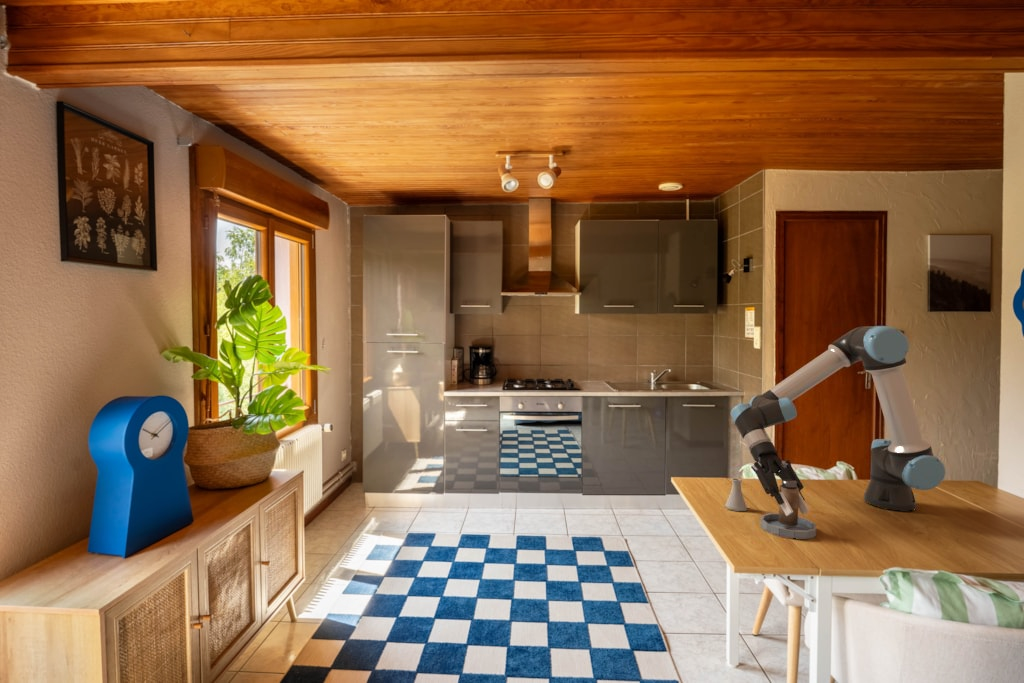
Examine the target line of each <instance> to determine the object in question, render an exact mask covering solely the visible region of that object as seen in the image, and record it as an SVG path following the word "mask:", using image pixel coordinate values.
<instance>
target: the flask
mask: <svg viewBox="0 0 1024 683" xmlns="http://www.w3.org/2000/svg"><path fill="white" fill-rule="evenodd" d="M742 481H743V480H742V479H741V478H736V477H735V478H734V477H733V478H731V482H732V485H731V490H730V492H729V496H728V498H727V500H726V503H725V505H724V508H726V509H727V510H728V511H729V510H730V511H734V512H747V510H748V506H747V504H746V501H745V497H744V495H743V491H742V484H741V483H742Z"/></svg>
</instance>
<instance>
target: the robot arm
mask: <svg viewBox="0 0 1024 683" xmlns="http://www.w3.org/2000/svg"><path fill="white" fill-rule="evenodd" d="M909 348H910V343H909V341H908V338H907V336H906V335H905V334H904V333H903V332H902V331H901V330H899V329H897V328H894V327H891V326H887V325H873V326H869V325H863V326H859V327H855V328H854V329H852V330H850V331H848V332H846V333H845V334H844V335H841V337H839V338H837V339H836V340H835V341H833V342H832V343H830V344H829V345H828V348H827V350H825V351H823V353H821V354H820V355H818V356H817V357H815V358H814V359H812V360H811V361H809V362H808V363H807V364H805V365H803V366H802V367H800V368H799V369H797V370H796V371H795V372H794V373H792V374H791V375H789V376H787V377H786V378H784V379H783V380H782V381H780V382H779V383H777V384H776V385H774V386H773V387H771V388H770V389H768V390H766V391H765V392H763V393H762V394H757V395H754V396H753V397H751V398H750V401H749V403H746V402H745V403H739V404H737V405H735V406H734V407H733V408H732V409H731V411H730V417H731V419H732V421H733V423H734V426H735V427H736V428H737V430H738V432H739V434H740V436H741V438H742V439H743V441H744V443H745V445H746V447H747V449H748V451H749V454H751V457H752V458H753V460H754V461H755V462H754V463H753V464H752V465H751V466H750V467H751V469H752V471H753V472H754V473H755V475H756V477H757V478H758V480H759V482H760V484H761V486H762V488H763V491H764V493H766V495H769V496H770V497H771V498H774V499H775V500H776V502H777V504H778V506H779V505H781V507H782V509H783V511H784V513H785V515H786V516H789V515H790V514H791V513H793V510H792V508H791V506H790V505H789V503H788V501H787V499H786V497H785V496H784V494H783V492H780V487H779V485H778V482H777V478H776V476H777V477H779V479H780V480H781V481H782V479H791V480H795V481H797V487H798V488H799V498H798V510H799V511H800V513H801V515H806V514H807V513H808V512H809V511H810V508H809V507H808V505H807V503H806V499H805V497H804V496H803V494H802V492H801V490H803V489H804V487H805V486H804V485H803V483H802V481H801V480H800V478H799V476H798V475H797V473H796V472H795V470H794V469H793V467H792V464H791V461H790V460H789V459H787V460H786V461H785V460H782V458H780V457H779V456H778V451H777V448H776V446H775V445H774V444H773V442H772V440H771V438H770V436H769V435H768V433H767V431H766V430H765V429H767V428H770V427H773V426H776V425H779V424H783V423H786V422H789V421H792V420H794V419H796V418H797V415H798V412H797V409H796V406H795V404H794V403H793V401H795V400H796V399H797V398H798V397H800V396H801V395H803V394H805V393H806V392H807V391H809V390H811V389H812V388H814V387H815V386H816V385H818V384H820V383H821V382H822V381H824V380H826V379H827V378H829V377H830V376H831V375H833V374H835V373H836V372H837V371H839V370H840V369H842V368H844V367H846V368H849V367H850V366H852V365H854V364H856V363H857V362H861V361H862V366H863V370H864V371H866V372H867V373H869V374H871V377H872V379H873V380H872V381H873V383H874V388H875V390H876V393H877V397H878V400H879V404H880V408H881V411H882V414H883V418H884V422H885V425H886V428H887V431H888V432H887V433H888V435H889V438H888V439H886V438H876V439H873V440H872V443H871V447H870V480H869V482H868V484H867V487H866V490H865V492H864V493H863V501H864V500H865V501H866V502H868V503H870V504H872V505H875V506H879V507H882V508H881V509H883V508H886V509H885V510H888V509H892V510H891V511H894V510H900V511H899V512H911V511H910V510H914V509H916V510H917V502H916V499H915V498H916V497H915V495H914V492H913V490H912V488H913V489H915V490H919V491H928V490H932V489H934V488H936V487H938V486H940V484H941V482H942V481H944V478H945V477H946V468H945V465H944V463H943V462H942V461H941V460H940V459H939V458H937V456H935V455H934V452H933V448H932V445H931V443H930V442H929V441H927V440H925V439H924V438H923V435H922V432H921V428H920V424H919V421H918V417H917V414H916V411H915V407H914V403H913V401H912V398H911V397H912V396H911V394H910V390H909V386H908V383H907V379H906V377H905V373H904V368H905V366H906V365H907V364H908V362H907V358H906V357H907V353H908V352H909V350H910V349H909ZM865 501H864V502H865ZM866 502H865V503H866ZM868 503H867V504H868ZM870 504H869V505H870ZM872 505H871V506H872ZM875 506H874V507H875ZM879 507H878V508H879ZM908 510H909V511H908ZM914 511H915V510H914Z"/></svg>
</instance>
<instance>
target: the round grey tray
mask: <svg viewBox="0 0 1024 683" xmlns="http://www.w3.org/2000/svg"><path fill="white" fill-rule="evenodd" d="M761 526H762V527H761ZM760 527H761V529H762V530H764V531H765V530H766V531H765V532H767V531H768V532H767V533H769V532H770V533H769V534H771V533H772V534H771V535H774V534H775V535H774V536H777V535H778V536H777V537H780V536H782V537H781V538H784V537H787V538H786V539H790V538H797V539H796V540H800V539H804V540H811V539H813V538H815V537H816V536H817V524H815V522H813V521H811V520H810V519H807V518H805V517H801V516H798V525H797V526H787V525H783V524H781V523H779V512H778V513H773V512H772V513H770V512H769V513H766V514H762V515H761V518H760ZM810 538H811V539H810Z"/></svg>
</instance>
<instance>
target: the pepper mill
mask: <svg viewBox="0 0 1024 683" xmlns="http://www.w3.org/2000/svg"><path fill="white" fill-rule="evenodd" d="M780 492H783V494H784V496H785V497H786V499H787V501H788V503H789V505H790V506H791V508H792V510H793V513H791V514H790V515H789V516H786V515H785V513H784V511H783V509H782V507H781V505H779V504H778V513H779V523H781V524H783V525H787V526H797V525H798V517H799V508H798V498H799V488H798V487H797V481H795V480H791V479H782V480H781V484H780V485H779V493H780Z"/></svg>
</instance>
